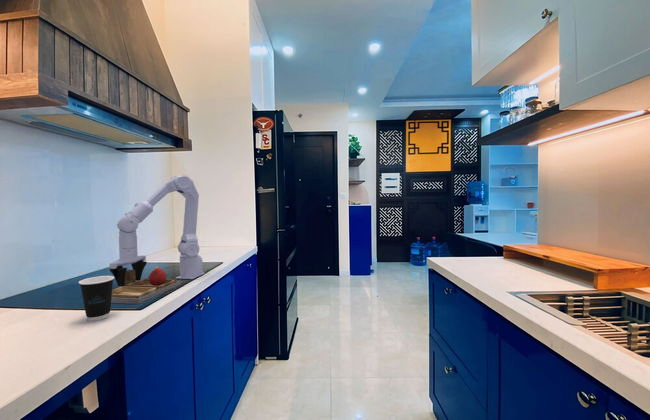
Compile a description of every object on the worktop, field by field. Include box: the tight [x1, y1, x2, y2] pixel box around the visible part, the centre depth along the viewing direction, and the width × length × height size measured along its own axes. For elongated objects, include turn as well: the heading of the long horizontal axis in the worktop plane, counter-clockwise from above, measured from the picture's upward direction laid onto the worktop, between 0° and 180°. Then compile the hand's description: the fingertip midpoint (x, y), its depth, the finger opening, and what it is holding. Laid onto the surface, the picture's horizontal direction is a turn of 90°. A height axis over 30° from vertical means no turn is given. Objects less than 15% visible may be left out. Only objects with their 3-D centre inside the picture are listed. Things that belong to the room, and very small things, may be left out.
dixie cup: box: [78, 275, 115, 322], centre depth 81 cm, size 8×8×11 cm
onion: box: [148, 265, 167, 286], centre depth 107 cm, size 6×6×8 cm
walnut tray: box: [124, 269, 177, 289], centre depth 108 cm, size 9×18×6 cm, turn 81°
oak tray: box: [112, 286, 157, 298], centre depth 98 cm, size 9×18×6 cm, turn 81°
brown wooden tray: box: [111, 280, 182, 305], centre depth 103 cm, size 21×15×2 cm
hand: (129, 282), depth 109 cm, fingers open, 7 cm apart
